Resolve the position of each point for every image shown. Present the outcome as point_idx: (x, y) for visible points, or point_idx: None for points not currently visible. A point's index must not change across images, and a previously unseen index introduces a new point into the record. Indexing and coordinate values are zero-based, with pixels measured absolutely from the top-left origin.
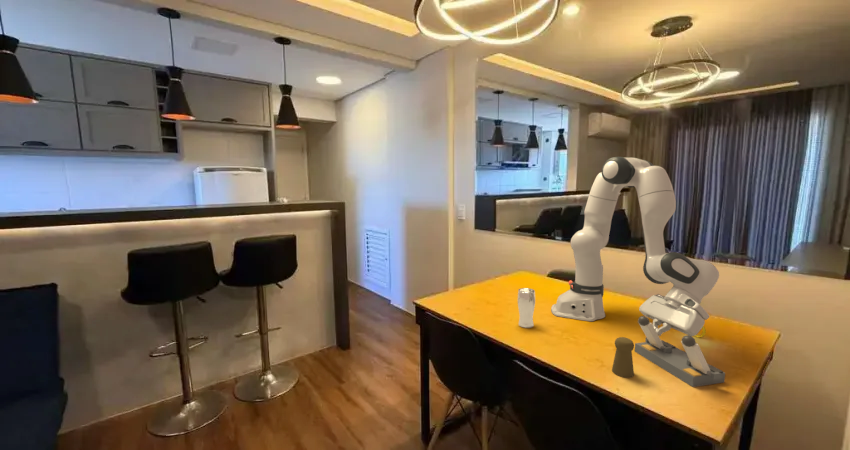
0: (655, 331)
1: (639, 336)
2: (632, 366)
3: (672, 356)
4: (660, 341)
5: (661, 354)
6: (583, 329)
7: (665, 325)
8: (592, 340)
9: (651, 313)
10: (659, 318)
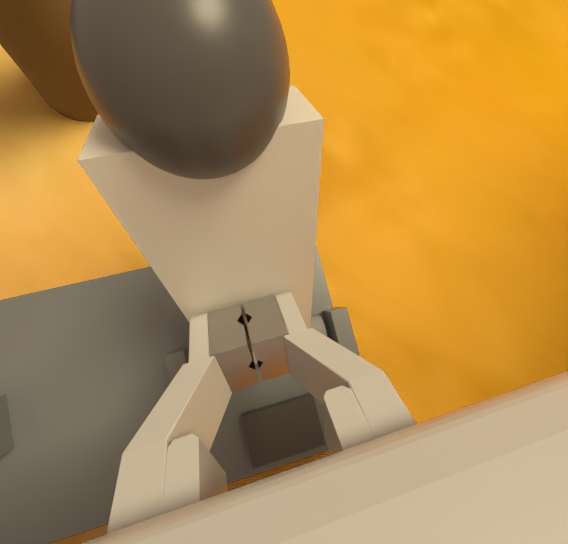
0: (166, 285)
1: (486, 365)
2: (12, 58)
3: (126, 367)
4: None
5: (156, 310)
6: (537, 114)
7: (139, 463)
8: (415, 100)
9: (562, 425)
10: (309, 476)
